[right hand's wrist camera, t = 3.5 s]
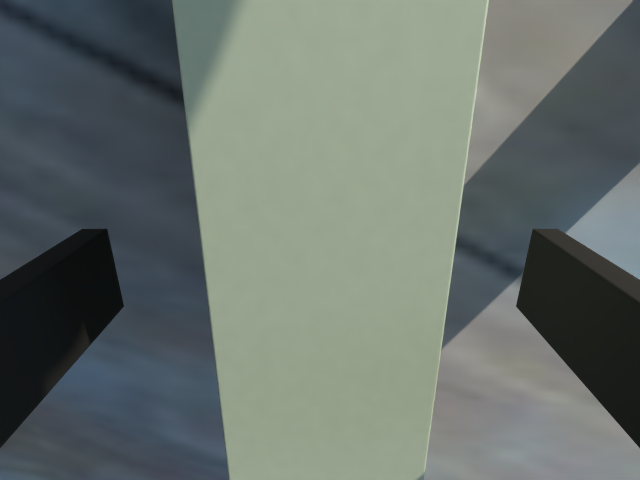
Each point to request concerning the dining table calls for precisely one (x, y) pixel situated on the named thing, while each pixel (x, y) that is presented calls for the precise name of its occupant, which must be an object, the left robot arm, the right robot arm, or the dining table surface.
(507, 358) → the dining table surface
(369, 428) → the beam
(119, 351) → the dining table surface
